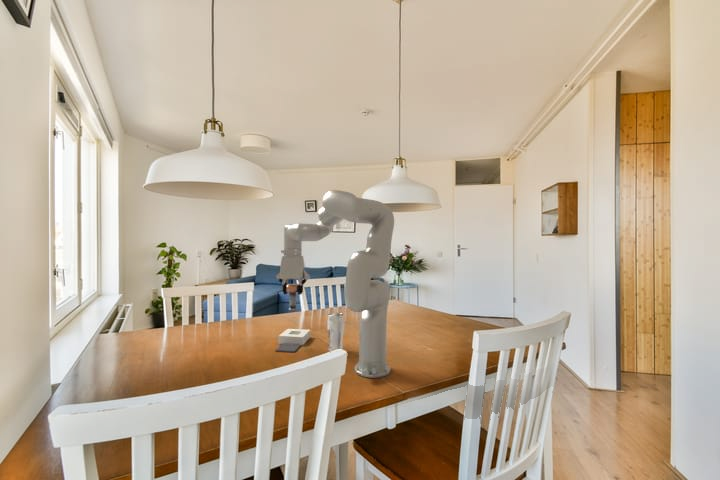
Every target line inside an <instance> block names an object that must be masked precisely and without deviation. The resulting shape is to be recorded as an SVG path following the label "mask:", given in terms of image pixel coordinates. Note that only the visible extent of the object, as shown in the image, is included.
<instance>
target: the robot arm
mask: <svg viewBox="0 0 720 480" xmlns="http://www.w3.org/2000/svg"><path fill="white" fill-rule="evenodd" d="M321 200H322V202H321V203H322V207H320V208H319V210H318V219H319V221H318V222H317V223H301V222H300V223H299V222H298V223H294V224H285V225H284V227H283V250H281V251H280V252H281V254H283V255H282V256H281V261H280V267H279V268H280V269H279V272H278V273H277V274H276V275H275V279H277V280H278V281H279V282H280V283H281V285H282V292H283V295H287V294H289V293H288V292H286V285H287V284H288V281H289V280H297V281H298V284H299V286H298V292H297V295H299V296H301V295H302V294H303V293H304V285H305V283H306V282H307V281H308V280H309V279H310V278H311V276H310V275H309V273H307V271H306V270H305V269H306V268H305V259H304V255H302V253H303V252H302V251H303V250H302V249H303V247H302V244H303V242H317V241H321V240H323V239H325V238H326V237H327V236H329V235H330V234H332V231H333V230H334V228H335V227H334V226H335V225H337V224H338V223H340V222H341V221H343V220H345V221H347V222H350V223H355V224H365V225H367V224H370V225H371V228H370V229H369V232H368V234H367V238H366V246H365V250H364V249H362V250H358V251H355V252H354V253H352V254H351V255H350V257H349V260H348V262H347V266H346V275H345V286H344V302H345V305H346V307H347V308H348V310H350V311H352V312H353V313H360V315H359V324H358V325H359V327H358V329H359V331H358V332H359V333H358V335H359V337H358V338H359V339H358V340H359V341H358V343H359V344H358V363H356V364H355V366H354V372H355V373H356V374H357V375H359V376H361V377H363V378H369V379H370V378H371V379H372V378H373V379H376V378H384V377H386V376H388V375H389V374H390V373H391V369H392V368H391V366H390V365H389V364H388V363H387V317H388V308H389V302H390V291H389V288H388V285H386V284H385V282H383V281H381V280H378V279H377V280H376V279H374V278H380V277H383V276H385V275H386V274H387V273H388V271H389V266H390V261H391V260H390V258H391V248H392V241H393V240H392V238H393V233H394V227H395V215H394V213H393V211H392V209H391V208H390V207H389V206H388V205H387V204H385V203H383V202H381V201H379V200H374V199H370V198H369V199H368V198H363V197H357V196H356V195H355V194H353V193H352V192H349V191H344V190H339V189H331V190H329V191H327V192H326V193H325V194H324V195H323V197H322V199H321ZM371 279H372V280H371Z"/></svg>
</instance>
